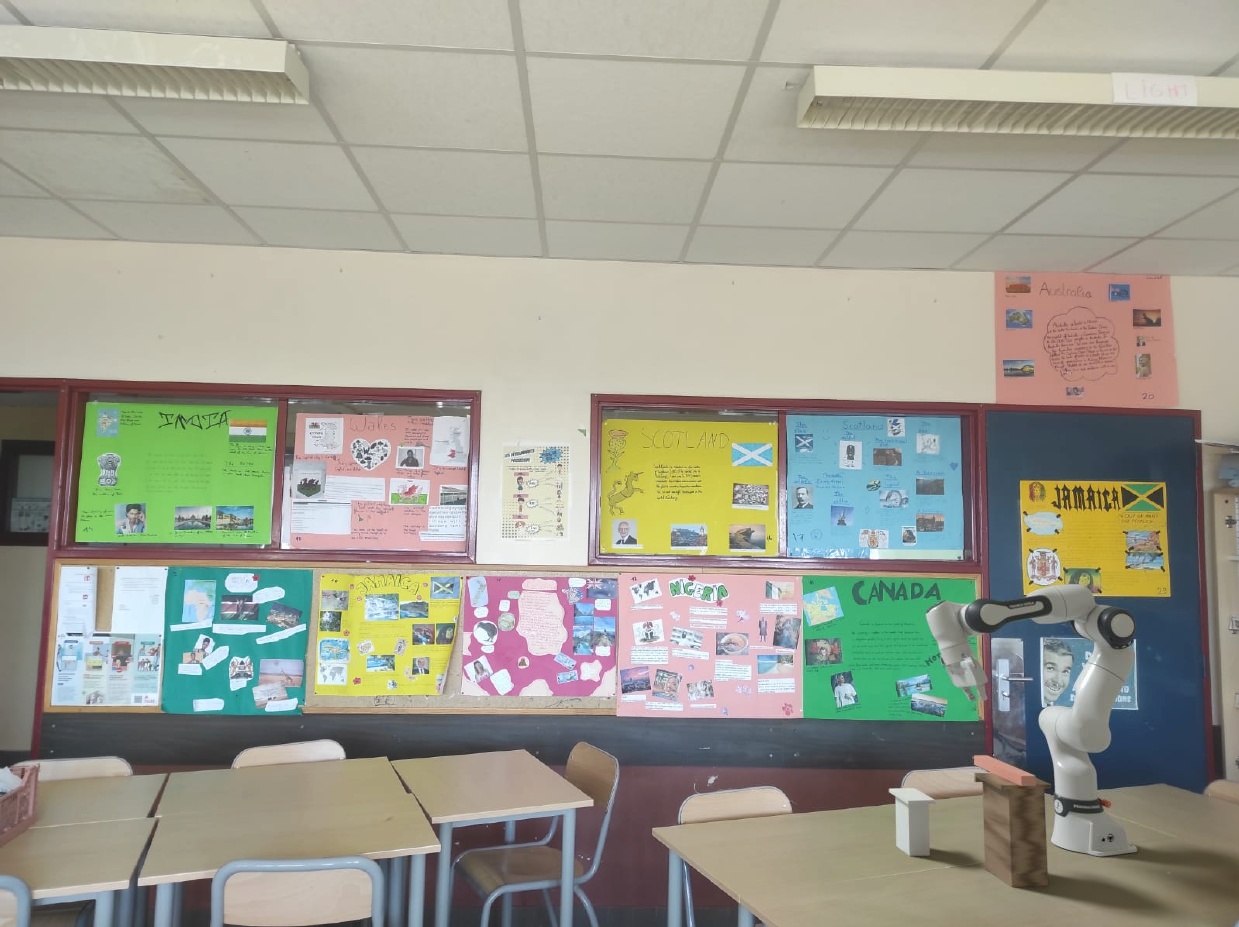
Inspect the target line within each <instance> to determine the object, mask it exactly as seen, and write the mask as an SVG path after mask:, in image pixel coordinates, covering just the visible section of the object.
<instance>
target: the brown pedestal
mask: <svg viewBox="0 0 1239 927" xmlns="http://www.w3.org/2000/svg"><path fill="white" fill-rule="evenodd" d="M973 778H974V779H973V780H974V783H981V784H982V806H983V807H982V809H983V810H982V811H983V813H982V814H983V837H984V840H983V841H984V842H983V843H984V869H985V870H986V871H987V872H989V873H990V874H992V875H994V877H996V878H997V879H999V880H1001V881H1002V882H1004V883H1005V884H1007V885H1008V886H1010V887H1011V888H1017V887H1018V888H1019V887H1021V888H1022V887H1023V888H1024V887H1045V886H1047V887H1048V886H1049V870H1048V852H1047V851H1048V845H1047V824H1046V823H1047V822H1046V821H1047V820H1046V801H1045V800H1046V798H1045V796H1046V795H1045V789H1052V783H1049V782H1046V781H1045V780H1041V779H1040V778H1037V777H1036V786H1020V785H1018V784H1016V783H1014V782H1011V781H1009V780H1007V779H1005V778H1003V777H1000V776H998V775H996V774H994V773H992V772H989V771H988V772H986V771H985V772H983V771H982V772H980V771H979V772H974V773H973Z"/></svg>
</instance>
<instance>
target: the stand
mask: <svg viewBox="0 0 1239 927" xmlns="http://www.w3.org/2000/svg"><path fill="white" fill-rule="evenodd" d="M888 793H890V795H893V796H895V797H894V798H895V845H896V846H895V847H897V848H899V849H900V850H901V851H902V852H904V854H906V855H908V856H909V857H918V856H926V857H927V856H930V855H931V854H930V853H931V850H930V817H929V816H930V810H929V809H930V808H929V806H930V805H936V799H934V798H932V797H931V796H929V795H927V794H925V793H924V792H922V791H920V790H919V789H917V788H916V787H911V788H908V787H906V788H904V787H903V788H902V787H901V788H900V787H899V788H888Z"/></svg>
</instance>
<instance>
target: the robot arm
mask: <svg viewBox="0 0 1239 927" xmlns="http://www.w3.org/2000/svg"><path fill="white" fill-rule="evenodd" d="M925 616H926V617H925V618H926V621H927V624H928V627H929V629H930V631H931V632H930V633H931V634H932V636H933V637H932V638H934V639H935V641H936V642H937V646H938V650H939V652H940V660H939V661H940V663H941V665H942V666H945V671H946V672H947V674H948V676H949V679H950V680H951V682H952V684H953V685H954V686H955V687H956V688H957V689H959V688H961V689H962V691H963V693H964V694H965V696H966V697H967V699H968V700H969V702H974V701H976V700H977V697H978V698H979V700H980V701H981V702H984V701H987V700H988V696H987V694H986V687H985V685H984V684H987V683H988V681H989V680H988V677H987V674H986V672H985V670H984V668H983V667H982V664H981V662H979V659H977V658H976V657H975V656H976V655H975V652H974V650H973V647H972V645H971V643H970V641H969V637H978V636H981V635H986V634H993V633H995V632H997V631H999V630H1000V629H1001V628H1003V627H1004V626H1005V625H1007V624H1010V623H1015V622H1019V621H1025V620H1032V621H1033V622H1034V623H1036V624H1039V625H1040V624H1041V625H1046V624H1047V625H1051V624H1059V623H1064V622H1069V626H1070V627H1071V629H1072V631H1073V632H1074V633H1075V634H1076V635H1077V636H1078V637H1080V638H1082V639H1086V640H1087V641H1088V640H1091V641H1093V643H1094V644H1093V645H1094V646H1093V652H1092V654H1091V655H1090V656H1089V658H1088V660H1087V662H1086V663H1085V665H1084V666H1083V669H1082V670H1081V671H1080V673H1079V675H1078V676H1077V679H1076V680H1075V682H1074V684H1073V685H1074V686H1073V688H1074V691H1075V697H1074V701H1073V705H1072V707H1069V706H1065V705H1049V706H1047V707H1045V708H1043V709H1042V710H1041V711H1040V713H1039V716H1038V725H1039V729H1040V730H1041V731H1042V733H1043V735H1044V736H1045V738H1046V739H1045V740H1046V742H1047V745H1048V749H1049V752H1050V756H1051V759H1052V765H1053V776H1054V777H1053V778H1054V792H1053V807H1054V823H1053V830H1052V836H1051V839H1050V841H1051V843H1052V844H1054V845H1055V846H1057V847H1060V848H1062V849H1065V850H1069V851H1073V852H1077V853H1083V854H1088V855H1091V856H1095V857H1107V856H1115V855H1124V854H1129V853H1130V854H1131V853H1137V852H1138V848H1137V846H1136V845H1135V844H1134V843H1131V842H1130V841H1128V837H1127V836H1128V835H1127V833H1126V829H1125V827H1124V826H1123V825H1122V824H1121V823H1120V822H1119V821H1117V820H1116V819H1115V818H1113V817H1112V816H1111V815H1110V814H1109V813H1108V812H1106V811H1105V808H1107V809H1110V808H1111V807H1112V802H1111V801H1110V800H1107V799H1102V798H1100V797H1098V780H1097V776H1098V775H1097V771H1096V768H1095V766H1094V764H1093V763H1092V760H1091V759H1090V757H1089V754H1088V753H1093V754H1094V753H1097V754H1098V753H1101V752H1103V751H1105V750H1106V749H1107V748H1108V747H1109V746H1110V744H1111V741H1112V732H1111V730H1110V726H1109V723H1110V716H1111V712H1112V709H1113V706H1114V703H1115V702H1116V700H1117V698H1118V696H1119V694H1120V693H1121V691H1122V689H1123V687H1124V685H1125V684H1126V682H1127V680H1128V679H1129V676H1130V674H1131V672H1132V669H1133V667H1134V664H1135V663H1134V662H1135V660H1136V653H1135V651H1134V649H1133V648H1132V647H1131V645H1132V644H1133V643H1134V637H1135V635H1136V631H1137V622H1136V618H1135V616H1134V615H1133V614H1132V613H1131V612H1129V611H1128V610H1126V609H1125V608H1122V607H1119V606H1113V605H1107V604H1098V603H1097V602H1095V596H1094V594H1093V592H1092V591H1091V589H1090V588H1088V587H1087V586H1085V585H1083V584H1079V583H1076V584H1075V583H1071V584H1070V583H1069V584H1066V583H1065V584H1057V585H1049V586H1045V587H1042V588H1041V587H1040V588H1038V589H1036V590H1033V591H1031V592H1029V593H1027V594H1026V596H1025V597H1022V598H1021V597H1019V598H1013V599H1009V600H996V599H991V598H986V597H985V598H984V597H980V598H977V599H976V600H973V601H972V602H970V603H958V602H952V601H949V600H946V599H944V600H941V601H939V602H937V603H935V604H933V605H932V606H930V607H928V609H926V611H925ZM971 687H974V688H975V690H976V691H977V697H976V695H975V694H974V692H973V691H972V688H971ZM1104 807H1105V808H1104Z"/></svg>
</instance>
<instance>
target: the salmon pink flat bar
mask: <svg viewBox="0 0 1239 927" xmlns="http://www.w3.org/2000/svg"><path fill="white" fill-rule="evenodd" d="M973 764H974V766H976V767H979V768H981V769H983V770H985V771H988V772H992V773H994V774H996V775H998V776H1000V777H1003V778H1005V779H1007V780H1009V781H1011V782H1014V783H1016V784H1018V785H1020V786H1036V778H1037V777H1036V775H1035V774H1033V773H1030V772H1028V771H1025V770H1023V769H1021V768H1018V767H1016V766H1013V765H1011V764H1008V763H1006V762H1004V761H1001V760H999V759H997V758H994V757H992V756H990V755H984V754H982V755H981V754H980V755H979V754H978V755H976V754H975V755H973Z"/></svg>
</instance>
